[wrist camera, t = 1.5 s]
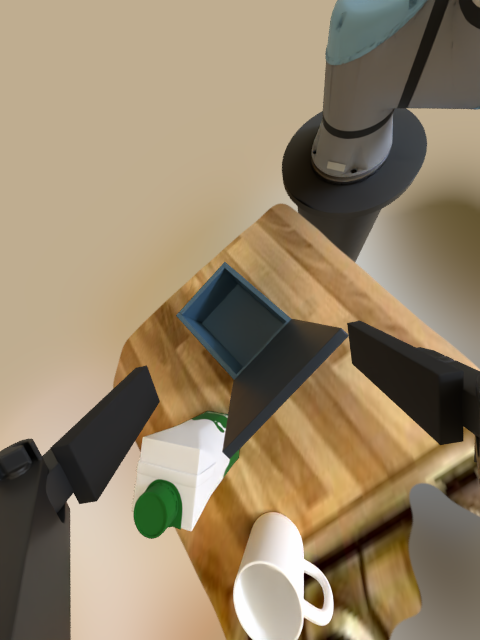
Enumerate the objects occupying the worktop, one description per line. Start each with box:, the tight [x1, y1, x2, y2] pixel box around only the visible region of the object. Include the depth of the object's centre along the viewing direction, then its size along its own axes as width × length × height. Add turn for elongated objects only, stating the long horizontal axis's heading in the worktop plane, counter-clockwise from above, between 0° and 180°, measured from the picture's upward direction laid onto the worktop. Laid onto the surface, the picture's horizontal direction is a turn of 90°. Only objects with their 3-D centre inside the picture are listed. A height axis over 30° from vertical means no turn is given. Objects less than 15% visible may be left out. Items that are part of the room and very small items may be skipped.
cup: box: [233, 512, 333, 640], centre depth 30 cm, size 8×12×10 cm
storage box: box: [176, 262, 291, 380], centre depth 40 cm, size 16×13×9 cm
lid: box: [222, 319, 349, 459], centre depth 24 cm, size 17×13×1 cm
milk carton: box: [132, 411, 239, 539], centre depth 32 cm, size 9×9×20 cm
